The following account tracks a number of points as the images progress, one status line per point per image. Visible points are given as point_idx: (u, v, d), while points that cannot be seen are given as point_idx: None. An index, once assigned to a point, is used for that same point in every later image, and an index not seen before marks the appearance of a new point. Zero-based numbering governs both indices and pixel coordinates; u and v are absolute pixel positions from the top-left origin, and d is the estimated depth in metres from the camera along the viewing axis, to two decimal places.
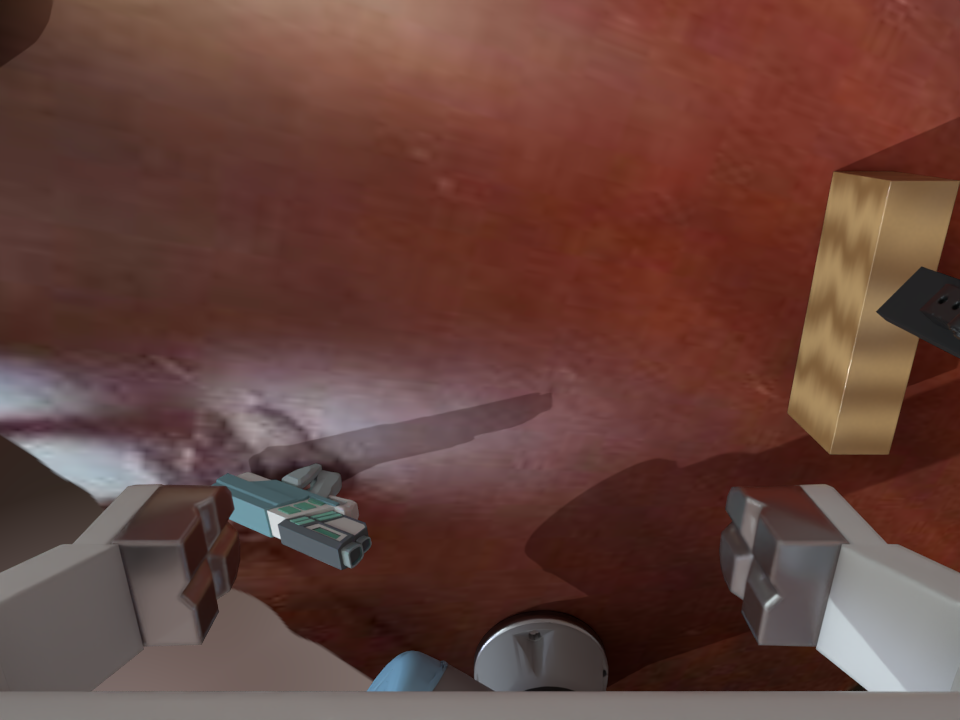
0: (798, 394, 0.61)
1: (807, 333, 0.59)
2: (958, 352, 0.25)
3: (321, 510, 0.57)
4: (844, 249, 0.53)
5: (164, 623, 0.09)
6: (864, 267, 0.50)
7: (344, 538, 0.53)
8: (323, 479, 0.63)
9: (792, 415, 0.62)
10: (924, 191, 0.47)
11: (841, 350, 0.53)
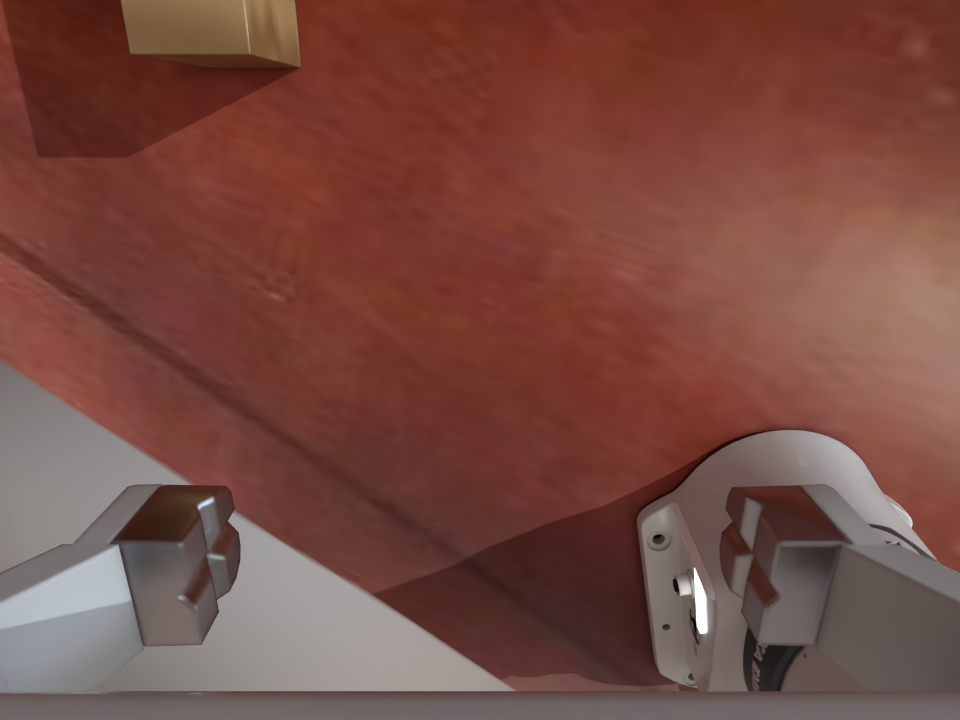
0: None
1: None
2: None
3: None
4: None
5: (164, 623, 0.09)
6: None
7: None
8: None
9: None
10: (184, 33, 0.27)
11: None
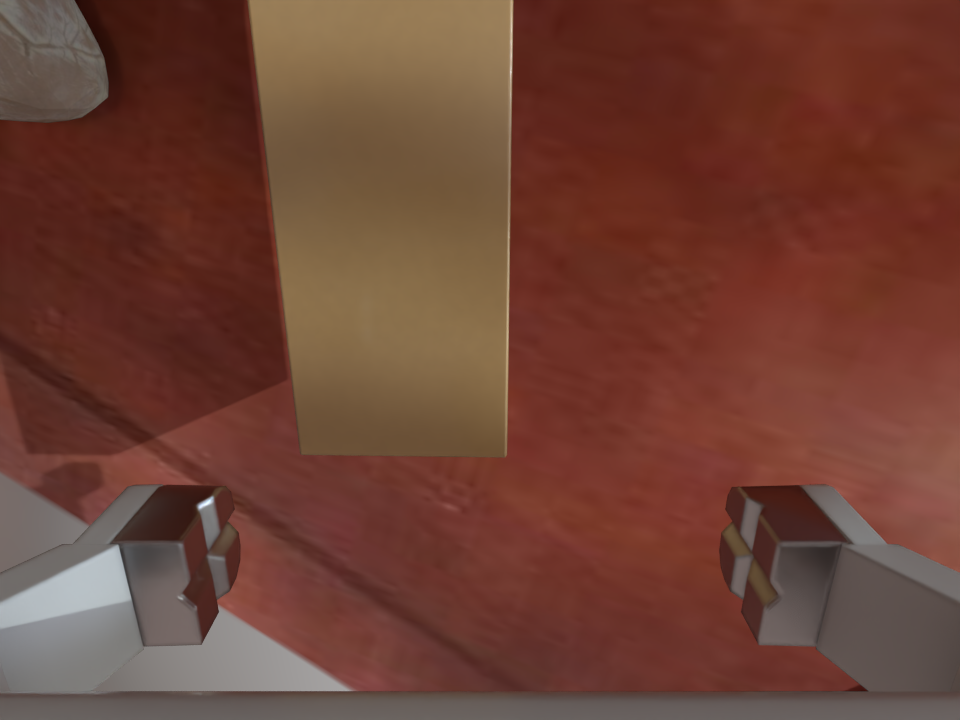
0: None
1: None
2: None
3: None
4: None
5: (164, 623, 0.09)
6: None
7: None
8: None
9: None
10: (397, 427, 0.15)
11: None
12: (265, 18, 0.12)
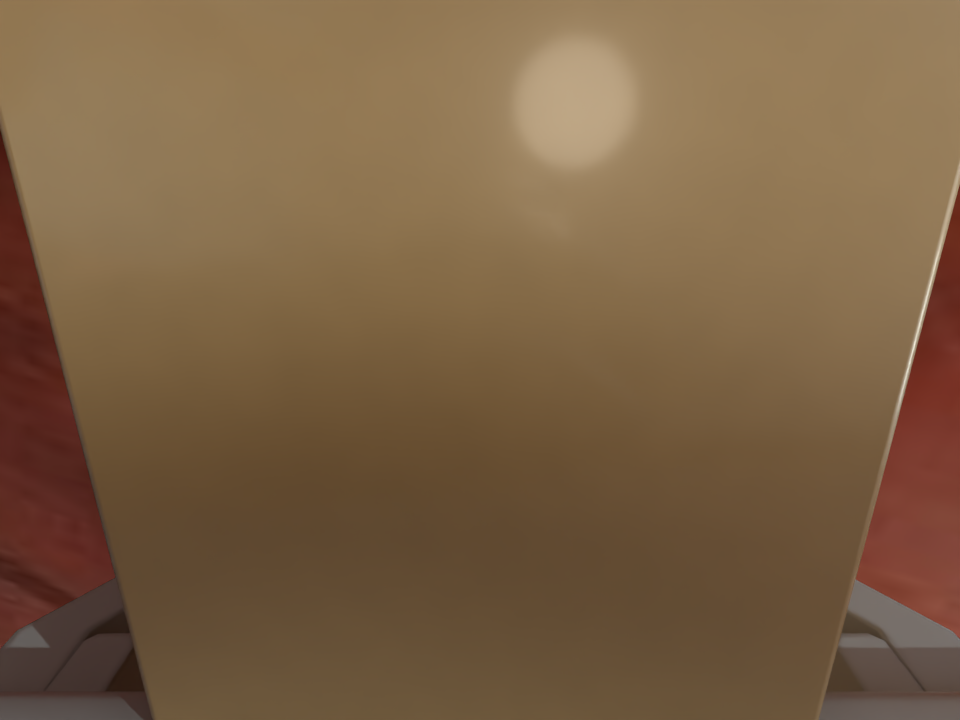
0: None
1: None
2: None
3: None
4: None
5: None
6: None
7: None
8: None
9: None
10: None
11: None
12: (59, 138, 0.03)
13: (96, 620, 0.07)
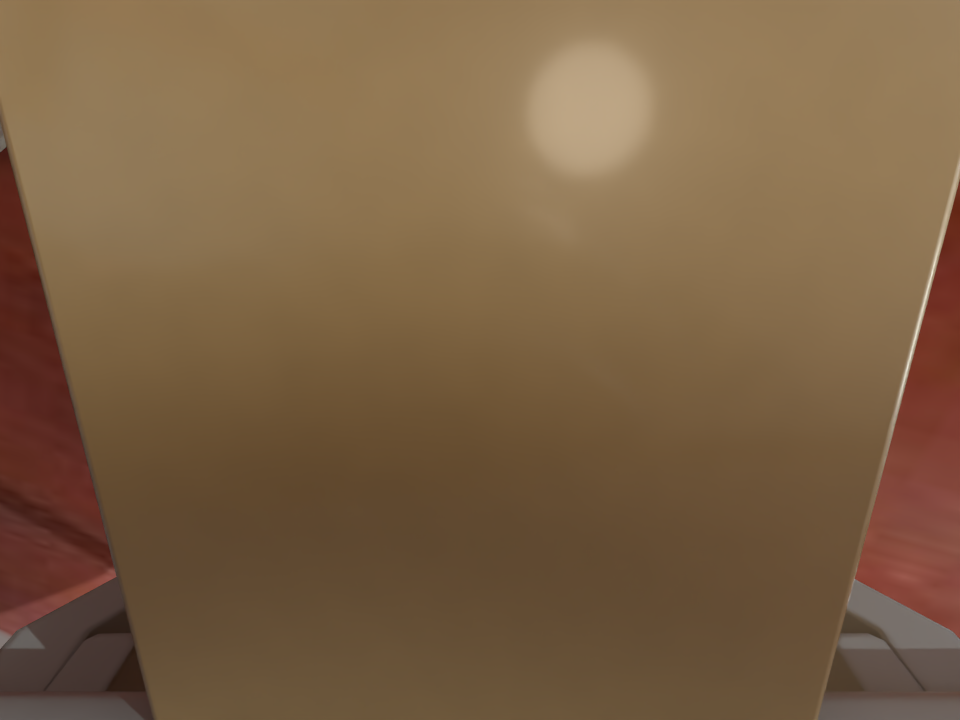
0: None
1: None
2: None
3: None
4: None
5: None
6: None
7: None
8: None
9: None
10: None
11: None
12: (61, 138, 0.03)
13: (96, 620, 0.07)
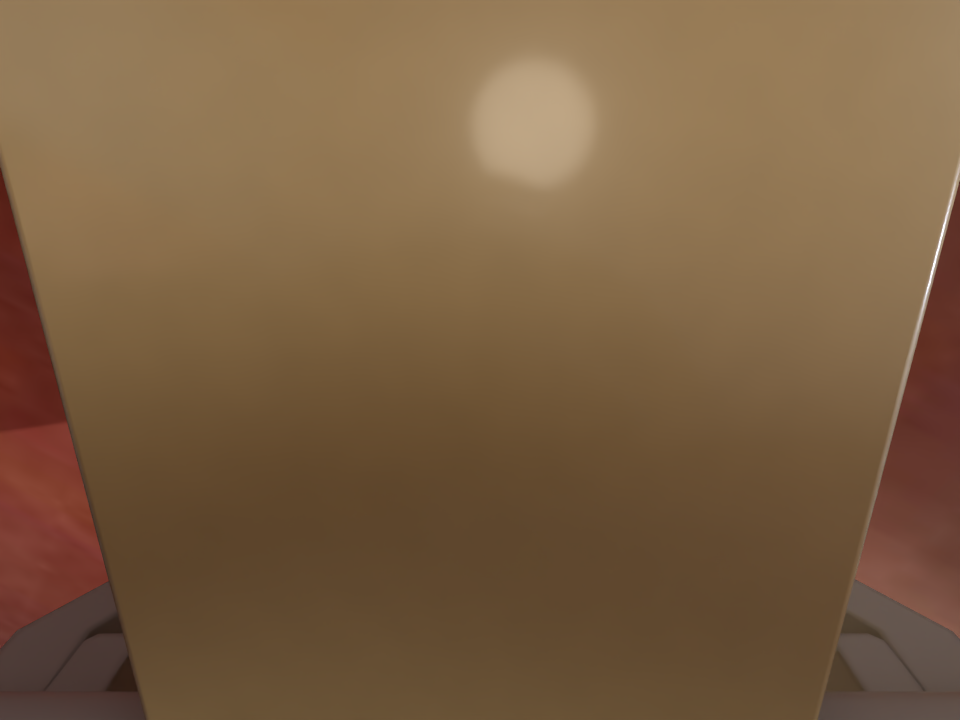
0: None
1: None
2: None
3: None
4: None
5: None
6: None
7: None
8: None
9: None
10: None
11: None
12: (48, 129, 0.03)
13: (96, 620, 0.07)
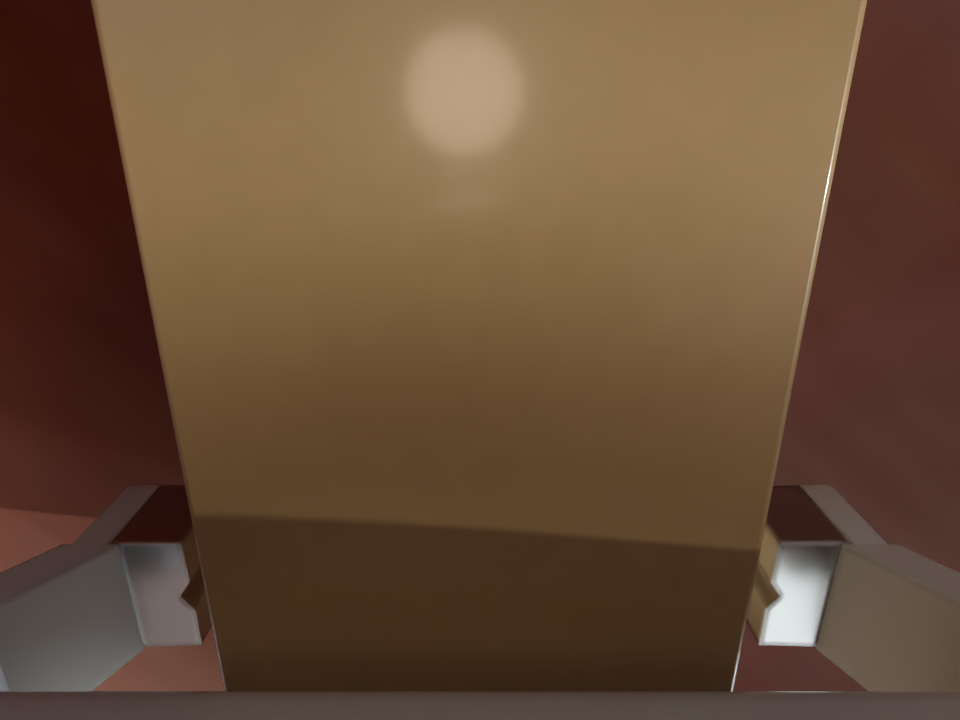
0: None
1: None
2: None
3: None
4: None
5: (164, 623, 0.09)
6: None
7: None
8: None
9: None
10: None
11: None
12: (165, 165, 0.05)
13: None
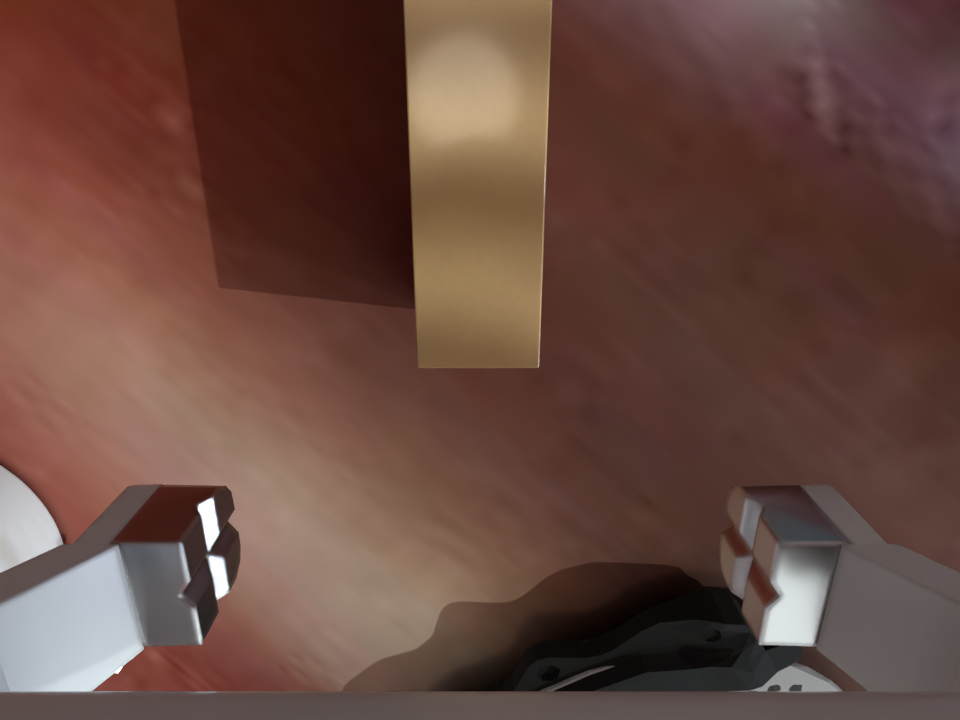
0: None
1: None
2: None
3: None
4: None
5: (164, 623, 0.09)
6: None
7: None
8: None
9: None
10: (475, 350, 0.26)
11: None
12: (416, 124, 0.23)
13: None
